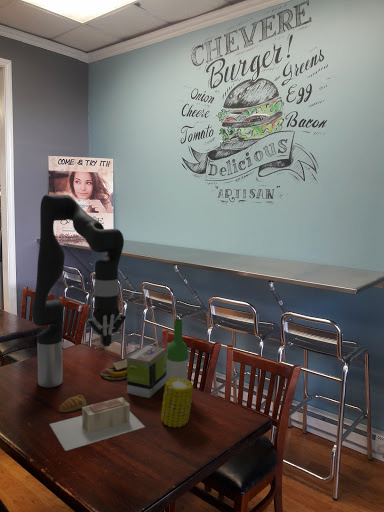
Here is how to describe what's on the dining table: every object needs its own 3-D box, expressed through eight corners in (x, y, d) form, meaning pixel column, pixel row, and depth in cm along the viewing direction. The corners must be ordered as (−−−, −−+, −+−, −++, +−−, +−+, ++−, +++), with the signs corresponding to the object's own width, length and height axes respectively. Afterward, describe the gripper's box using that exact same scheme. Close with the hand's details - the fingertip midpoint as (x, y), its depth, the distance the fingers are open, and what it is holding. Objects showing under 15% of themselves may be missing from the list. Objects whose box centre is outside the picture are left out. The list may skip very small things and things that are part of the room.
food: (166, 417, 151) (193, 424, 148) (152, 426, 140) (181, 434, 137) (172, 373, 152) (200, 379, 149) (160, 378, 141) (189, 385, 138)
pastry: (64, 417, 146) (64, 406, 146) (54, 410, 151) (54, 399, 150) (88, 407, 153) (88, 397, 153) (77, 401, 158) (77, 391, 157)
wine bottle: (172, 403, 157) (174, 324, 153) (162, 395, 164) (164, 318, 160) (190, 399, 162) (193, 321, 157) (179, 390, 168) (182, 315, 164)
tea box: (145, 378, 178) (145, 344, 176) (167, 383, 174) (168, 348, 172) (126, 393, 164) (126, 356, 162) (149, 399, 161) (150, 361, 158)
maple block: (82, 406, 140) (122, 396, 148) (82, 424, 141) (122, 413, 148) (88, 414, 135) (129, 403, 143) (88, 433, 136) (129, 421, 143)
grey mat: (49, 425, 140) (49, 424, 140) (123, 406, 155) (123, 404, 155) (65, 452, 126) (65, 450, 126) (145, 428, 141) (145, 426, 141)
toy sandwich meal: (99, 370, 185) (99, 360, 184) (130, 367, 189) (130, 357, 188) (102, 383, 173) (102, 371, 173) (135, 379, 177) (136, 368, 177)
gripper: (121, 288, 142) (120, 338, 145) (81, 292, 135) (82, 345, 138) (130, 293, 136) (130, 345, 139) (90, 297, 129) (90, 353, 132)
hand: (106, 345), depth 138 cm, fingers closed
